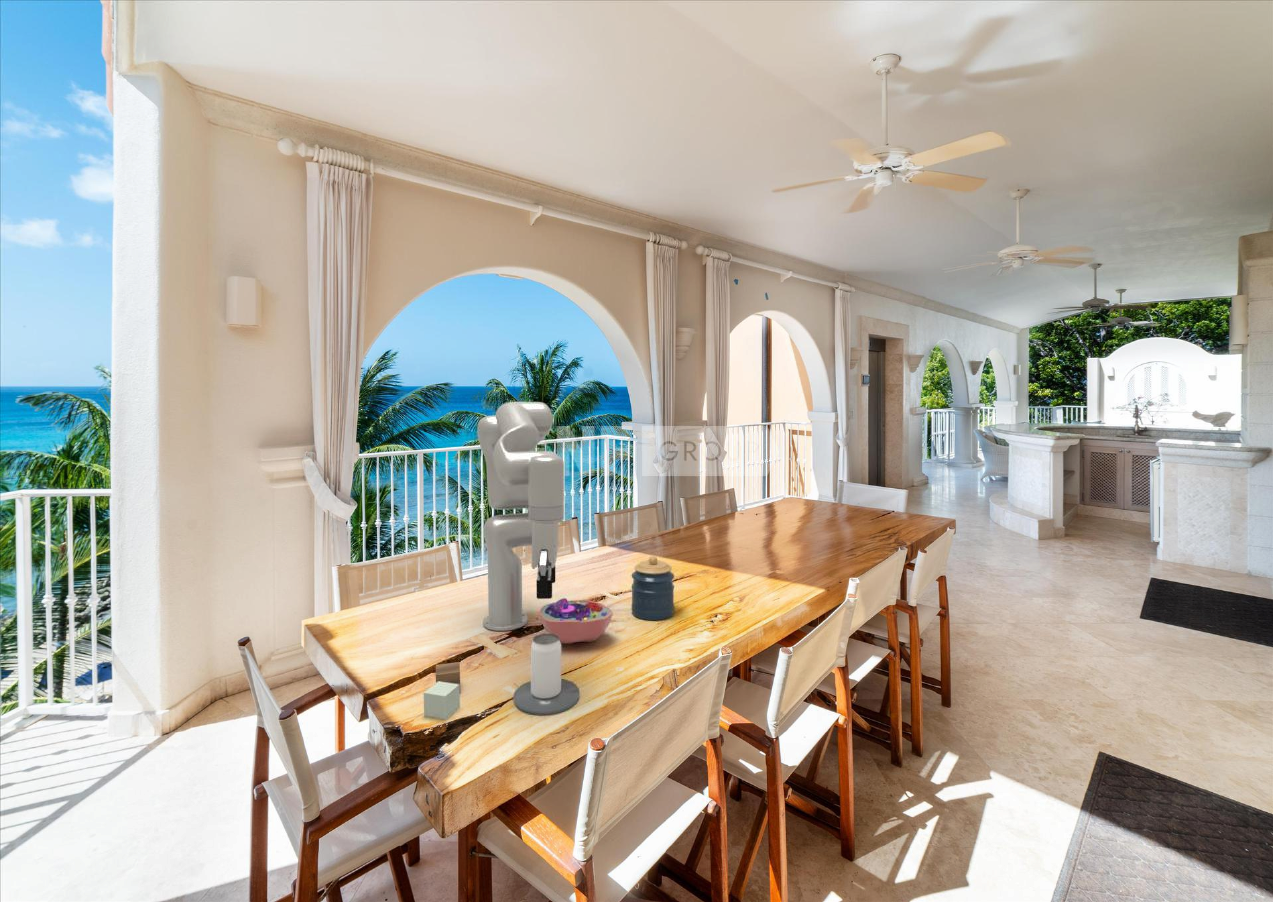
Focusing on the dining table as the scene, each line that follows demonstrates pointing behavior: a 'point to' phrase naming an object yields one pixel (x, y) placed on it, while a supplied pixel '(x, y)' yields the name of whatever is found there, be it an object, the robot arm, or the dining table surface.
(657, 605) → the canister
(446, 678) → the walnut block
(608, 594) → the dining table surface
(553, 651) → the can
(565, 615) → the cell model
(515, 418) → the robot arm
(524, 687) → the trivet
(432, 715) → the sage block
